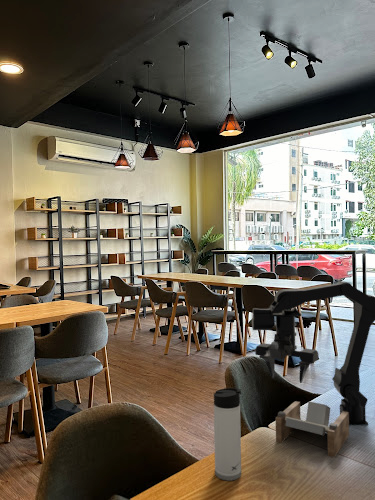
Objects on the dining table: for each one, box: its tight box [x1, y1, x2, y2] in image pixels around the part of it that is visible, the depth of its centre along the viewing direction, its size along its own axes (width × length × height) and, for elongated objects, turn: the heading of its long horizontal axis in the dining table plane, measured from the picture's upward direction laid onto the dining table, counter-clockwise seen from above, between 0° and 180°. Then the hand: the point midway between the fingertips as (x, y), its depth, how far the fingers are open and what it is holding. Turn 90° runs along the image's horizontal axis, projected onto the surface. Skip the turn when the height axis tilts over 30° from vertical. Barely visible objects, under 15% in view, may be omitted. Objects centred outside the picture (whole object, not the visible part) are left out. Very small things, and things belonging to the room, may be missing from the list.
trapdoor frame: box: [275, 400, 350, 458], centre depth 112 cm, size 15×16×7 cm
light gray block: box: [305, 401, 331, 426], centre depth 116 cm, size 5×5×6 cm
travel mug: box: [213, 387, 242, 482], centre depth 95 cm, size 6×7×20 cm
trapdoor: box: [285, 417, 329, 437], centre depth 112 cm, size 14×12×2 cm
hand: (286, 380), depth 125 cm, fingers open, 9 cm apart
